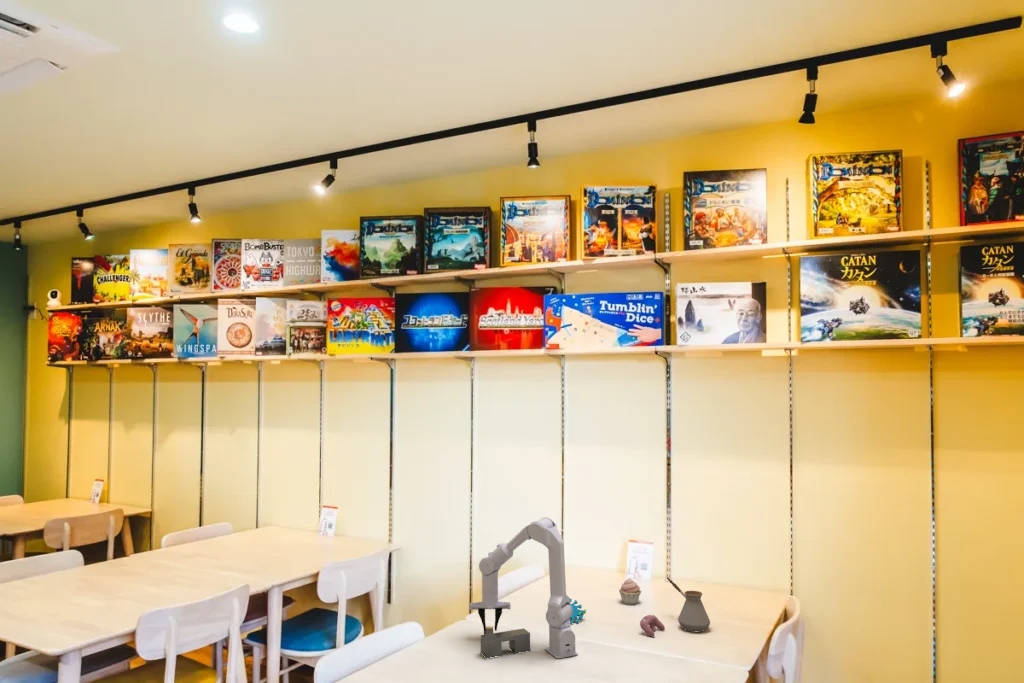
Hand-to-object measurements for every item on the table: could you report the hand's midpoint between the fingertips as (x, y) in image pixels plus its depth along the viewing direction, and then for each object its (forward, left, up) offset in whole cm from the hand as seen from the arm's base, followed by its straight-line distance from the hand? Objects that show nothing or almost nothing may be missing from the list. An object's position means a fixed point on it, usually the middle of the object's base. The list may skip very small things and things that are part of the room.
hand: (490, 630), depth 242 cm
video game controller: (-19, -56, -3) cm, 59 cm away
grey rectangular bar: (-1, +1, -3) cm, 3 cm away
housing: (-14, 0, -3) cm, 14 cm away
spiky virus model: (+4, -36, -3) cm, 36 cm away
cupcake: (+14, -68, -3) cm, 70 cm away
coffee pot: (-17, -72, -3) cm, 74 cm away
